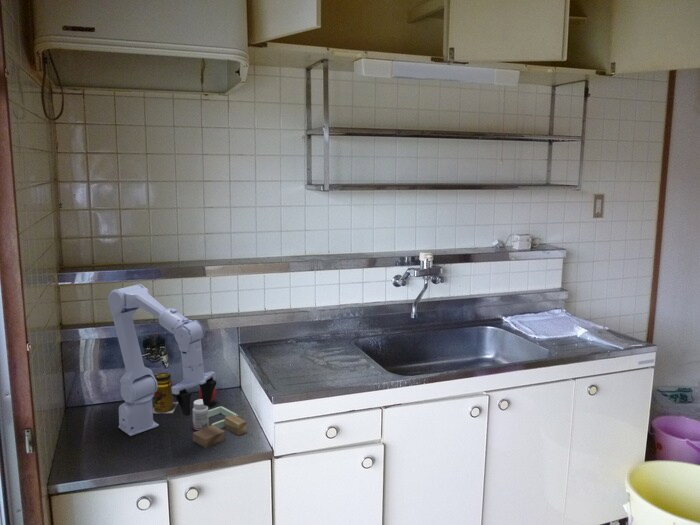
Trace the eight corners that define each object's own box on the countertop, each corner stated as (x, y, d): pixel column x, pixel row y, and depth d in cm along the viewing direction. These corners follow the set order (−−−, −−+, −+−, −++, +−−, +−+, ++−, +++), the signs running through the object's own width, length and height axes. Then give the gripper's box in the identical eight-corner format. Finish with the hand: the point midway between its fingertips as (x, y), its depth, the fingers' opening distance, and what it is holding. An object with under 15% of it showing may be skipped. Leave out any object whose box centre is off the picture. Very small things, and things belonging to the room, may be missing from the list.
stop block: (238, 435, 179) (238, 424, 178) (224, 427, 183) (224, 417, 183) (246, 432, 181) (246, 421, 180) (232, 424, 186) (232, 414, 185)
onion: (212, 408, 197) (211, 385, 195) (196, 406, 198) (195, 383, 196) (219, 401, 202) (218, 379, 201) (203, 399, 204) (203, 377, 202)
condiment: (149, 413, 192) (148, 378, 190) (157, 402, 200) (155, 369, 198) (172, 413, 192) (171, 378, 190) (179, 402, 201) (177, 369, 198)
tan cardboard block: (205, 449, 171) (205, 439, 170) (193, 442, 175) (192, 432, 174) (225, 440, 176) (224, 431, 176) (212, 434, 180) (212, 424, 179)
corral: (213, 430, 181) (212, 424, 181) (195, 420, 188) (195, 414, 187) (238, 421, 188) (238, 415, 188) (221, 411, 195) (221, 405, 194)
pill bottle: (194, 423, 186) (193, 398, 184) (209, 423, 186) (209, 398, 185) (191, 430, 181) (191, 405, 179) (207, 430, 181) (207, 404, 180)
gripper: (181, 374, 160) (186, 421, 162) (221, 358, 171) (225, 403, 173) (164, 370, 164) (169, 417, 166) (204, 355, 175) (208, 399, 177)
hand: (197, 410), depth 170 cm, fingers open, 7 cm apart
